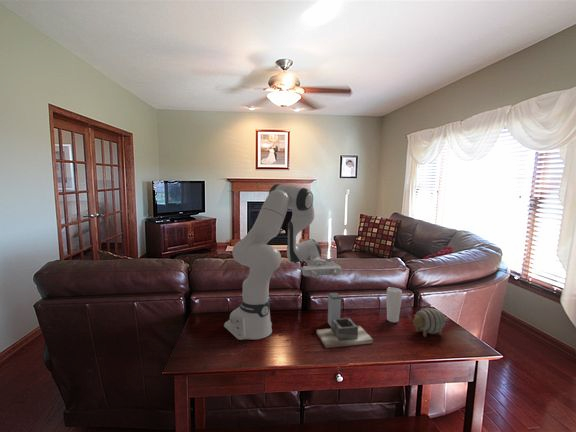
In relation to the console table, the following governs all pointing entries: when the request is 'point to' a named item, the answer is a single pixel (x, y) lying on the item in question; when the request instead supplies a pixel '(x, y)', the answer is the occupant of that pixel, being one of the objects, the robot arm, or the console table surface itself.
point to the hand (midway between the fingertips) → (326, 274)
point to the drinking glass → (393, 304)
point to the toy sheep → (429, 321)
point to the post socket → (343, 334)
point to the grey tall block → (334, 307)
